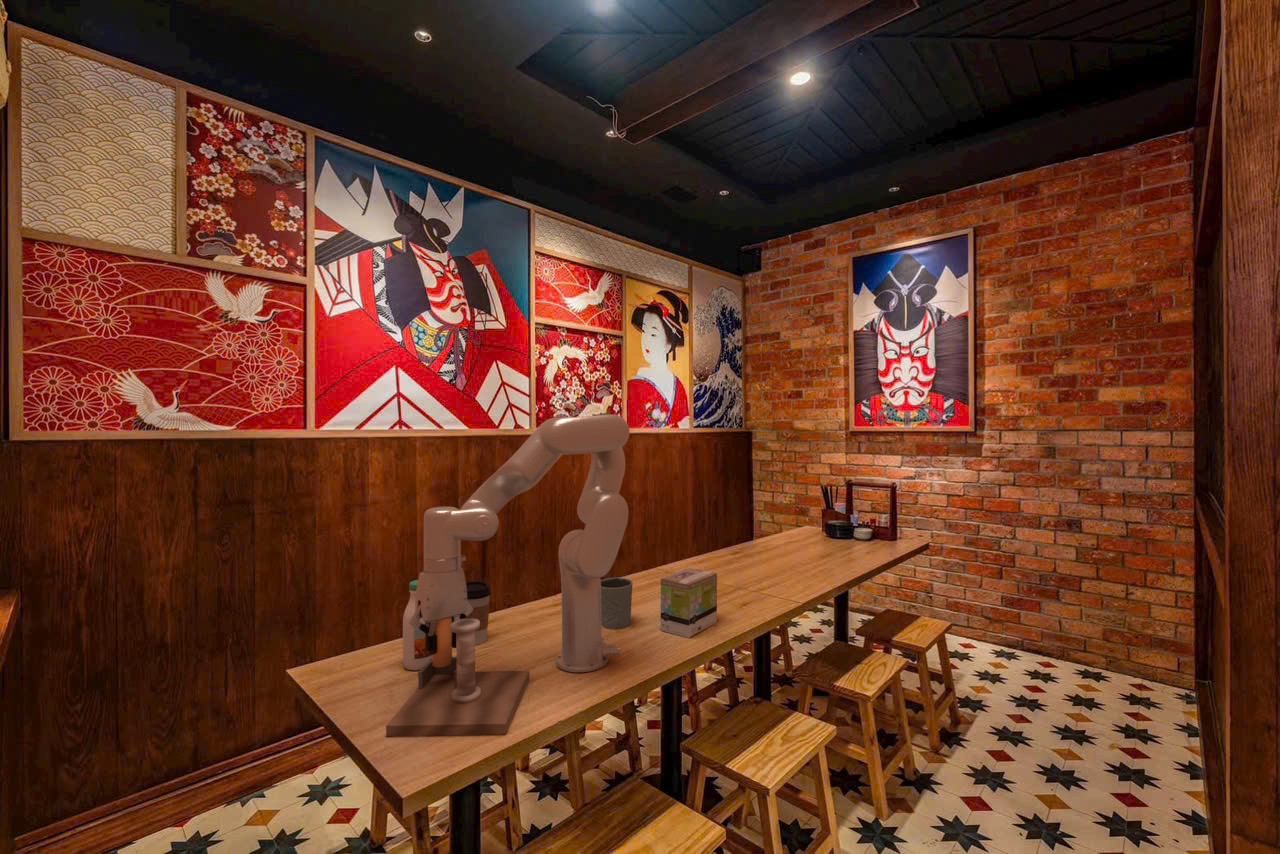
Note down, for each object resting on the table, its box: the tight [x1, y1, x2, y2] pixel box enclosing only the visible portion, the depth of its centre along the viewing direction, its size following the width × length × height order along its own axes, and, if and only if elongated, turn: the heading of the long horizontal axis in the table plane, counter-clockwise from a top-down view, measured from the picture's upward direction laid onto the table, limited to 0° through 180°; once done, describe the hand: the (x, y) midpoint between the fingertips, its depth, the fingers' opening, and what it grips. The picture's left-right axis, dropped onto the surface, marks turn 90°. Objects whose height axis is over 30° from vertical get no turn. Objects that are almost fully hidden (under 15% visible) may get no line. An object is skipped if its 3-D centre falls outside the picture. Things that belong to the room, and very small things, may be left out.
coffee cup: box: [465, 580, 492, 646], centre depth 146 cm, size 8×8×15 cm
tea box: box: [659, 567, 718, 639], centre depth 154 cm, size 15×10×15 cm, turn 143°
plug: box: [432, 617, 453, 667], centre depth 118 cm, size 4×4×10 cm
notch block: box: [417, 656, 457, 689], centre depth 119 cm, size 8×8×4 cm
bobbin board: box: [385, 618, 530, 738], centre depth 112 cm, size 22×22×17 cm
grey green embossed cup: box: [600, 577, 634, 630], centre depth 157 cm, size 10×10×12 cm
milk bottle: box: [402, 579, 432, 671], centre depth 132 cm, size 8×8×20 cm
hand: (442, 648), depth 118 cm, fingers closed on plug, 4 cm apart
